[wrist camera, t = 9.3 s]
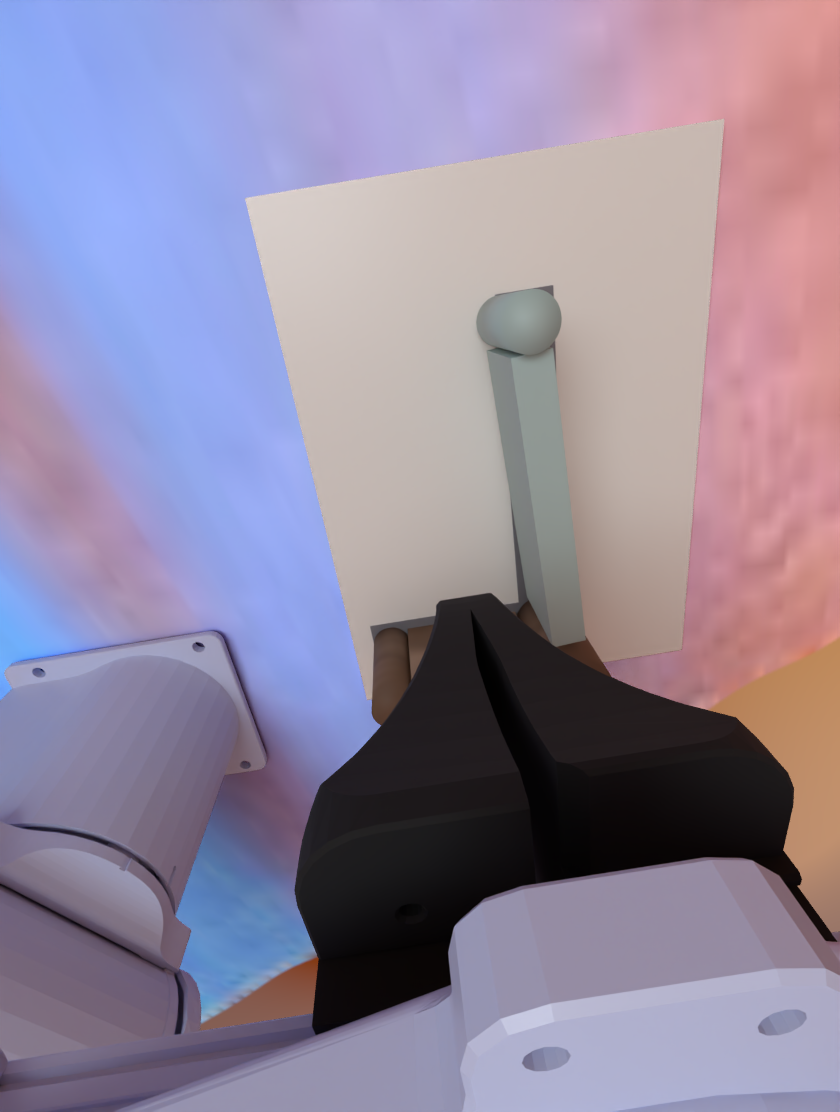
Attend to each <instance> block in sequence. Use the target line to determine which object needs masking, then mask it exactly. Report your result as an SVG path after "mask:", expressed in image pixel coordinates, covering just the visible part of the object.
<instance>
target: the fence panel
mask: <svg viewBox="0 0 840 1112" xmlns="http://www.w3.org/2000/svg"><path fill="white" fill-rule="evenodd" d="M561 321H562V317H561V310H560V307H559V305H558V303H557V301H556V300H555V298H554V297H553V296H552V295H551V294H549V293H548V292H546V291H544V290H540V289H529V290H523V291H518V292H513V293H508V294H502V295H497V296H494V297H491V298H490V299H488V300H487V301H486V302H485V303H484V304H483V305H482V306H481V308H480V310H479V312H478V315H477V320H476V325H477V330H478V333H479V335H480V337H481V338H482V340H483V341H484V342H486V343H487V344H489V345H491V346H494V347H498V348H495V349H491V350H487V356H488V362H489V368H490V375H491V381H492V387H493V393H494V399H495V405H496V411H497V417H498V423H499V430H500V436H501V442H502V448H503V454H504V460H505V466H506V472H507V478H508V484H509V491H510V497H511V503H512V509H513V515H514V521H515V527H516V533H517V539H518V546H519V552H520V558H521V564H522V570H523V576H524V582H525V588H526V594H527V598H528V599H529V601H530V603H531V605H532V607H533V609H534V611H535V613H536V615H537V617H538V619H539V621H540V623H541V625H542V627H543V629H544V631H545V633H546V635H547V637H548V639H549V641H550V643H551V644H553V645H554V646H555V647H558V646H562V645H566V644H571V643H575V642H580V641H584V640H586V637H585V628H584V619H583V610H582V601H581V592H580V583H579V574H578V566H577V557H576V548H575V539H574V530H573V521H572V512H571V503H570V494H569V485H568V476H567V467H566V458H565V450H564V441H563V432H562V423H561V414H560V405H559V396H558V387H557V378H556V369H555V360H554V351H553V348H550V346H551V345H552V344H553V342H554V341H555V339H556V338H557V336H558V334H559V331H560V328H561Z"/></svg>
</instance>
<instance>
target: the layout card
mask: <svg viewBox="0 0 840 1112" xmlns="http://www.w3.org/2000/svg"><path fill="white" fill-rule="evenodd" d="M723 129H724V119H720V120H714V121H708V122H702V123H696V124H690V125H684V126H678V127H672V128H666V129H660V130H654V131H648V132H642V133H636V134H630V135H624V136H617V137H611V138H605V139H599V140H593V141H587V142H581V143H575V144H569V145H563V146H557V147H551V148H545V149H539V150H533V151H527V152H521V153H515V154H509V155H503V156H497V157H491V158H484V159H478V160H472V161H466V162H460V163H454V164H448V165H442V166H436V167H430V168H424V169H418V170H412V171H406V172H400V173H394V174H388V175H382V176H376V177H370V178H364V179H358V180H351V181H345V182H339V183H333V184H327V185H321V186H315V187H309V188H303V189H297V190H291V191H285V192H279V193H273V194H267V195H261V196H255V197H249V198H245V200H246V204H247V208H248V212H249V217H250V221H251V225H252V229H253V233H254V237H255V241H256V245H257V249H258V254H259V258H260V262H261V266H262V270H263V274H264V278H265V282H266V286H267V291H268V295H269V299H270V303H271V307H272V311H273V315H274V319H275V323H276V328H277V332H278V336H279V340H280V344H281V348H282V352H283V356H284V360H285V365H286V369H287V373H288V377H289V381H290V385H291V389H292V393H293V397H294V401H295V406H296V410H297V414H298V418H299V422H300V426H301V430H302V434H303V438H304V443H305V447H306V451H307V455H308V459H309V463H310V467H311V471H312V475H313V480H314V484H315V488H316V492H317V496H318V500H319V504H320V508H321V512H322V517H323V521H324V525H325V529H326V533H327V537H328V541H329V545H330V549H331V554H332V558H333V562H334V566H335V570H336V574H337V578H338V582H339V586H340V591H341V595H342V599H343V603H344V607H345V611H346V615H347V619H348V623H349V627H350V632H351V636H352V640H353V644H354V648H355V652H356V656H357V660H358V664H359V669H360V673H361V677H362V681H363V685H364V689H365V693H366V697H367V700H371V699H372V688H373V658H374V639H375V637H376V635H377V634H378V633H379V632H380V631H381V630H383V629H386V628H391V627H394V628H399V629H401V630H403V631H404V632H406V634H407V635H408V628H415V627H421V626H427V625H433V624H434V621H435V616H436V605H437V604H438V603H439V601H441V600H447V599H454V598H460V597H466V596H472V595H479V594H485V593H492V594H493V595H494V596H496V597H497V598H498V599H499V600H500V601H501V602H502V603H503V604H504V605H505V606H506V607H507V608H508V609H509V610H510V611H511V612H515V613H516V615H517V613H518V611H519V609H520V608H521V607H522V605H523V604H524V603H526V602H527V601H528V600H529V599H528V598H527V594H526V588H525V582H524V576H523V570H522V564H521V558H520V552H519V546H518V539H517V533H516V527H515V521H514V515H513V509H512V503H511V497H510V491H509V484H508V478H507V472H506V466H505V460H504V454H503V448H502V442H501V436H500V430H499V423H498V417H497V411H496V405H495V399H494V393H493V387H492V381H491V375H490V368H489V362H488V356H487V350H491V349H495V348H498V347H494V346H491V345H489V344H487V343H486V342H484V341H483V340H482V338H481V337H480V335H479V333H478V330H477V325H476V320H477V315H478V312H479V310H480V308H481V306H482V305H483V304H484V303H485V302H486V301H487V300H488V299H490V298H491V297H494V296H497V295H502V294H508V293H513V292H518V291H523V290H529V289H540V290H544V291H546V292H548V293H549V294H551V295H552V296H553V297H554V298H555V300H556V301H557V303H558V305H559V307H560V310H561V317H562V321H561V328H560V331H559V334H558V336H557V338H556V339H555V341H554V342H553V344H552V345H551V346H550V348H553V351H554V360H555V369H556V378H557V387H558V396H559V405H560V414H561V423H562V432H563V441H564V450H565V458H566V467H567V476H568V485H569V494H570V503H571V512H572V521H573V530H574V539H575V548H576V557H577V566H578V574H579V583H580V592H581V601H582V610H583V619H584V628H585V636H586V637H587V639H588V640H589V642H590V643H591V645H592V647H593V648H594V650H595V651H596V653H597V655H598V656H599V658H600V659H601V661H602V663H603V662H609V661H615V660H622V659H628V658H634V657H641V656H647V655H653V654H659V653H666V652H672V651H678V650H682V641H683V628H684V616H685V603H686V591H687V578H688V566H689V553H690V541H691V528H692V516H693V503H694V491H695V479H696V466H697V454H698V441H699V429H700V416H701V404H702V391H703V379H704V366H705V354H706V341H707V329H708V316H709V304H710V291H711V279H712V267H713V254H714V242H715V229H716V217H717V204H718V192H719V179H720V167H721V154H722V142H723Z"/></svg>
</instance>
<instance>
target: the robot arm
mask: <svg viewBox="0 0 840 1112" xmlns="http://www.w3.org/2000/svg"><path fill="white" fill-rule="evenodd" d="M195 642H200V643H202V644H203V645H204V646H205V647H200V646H198V645H197V644H196V643H195ZM39 668H41V669H43V670H44V671H45V672H43V671H41V670H40V669H39ZM4 674H5V677H6V679H7V681H8V682H9V684H10V686H11V687H12V689H11V690H10V691H9V692H8V693H7V694H6V695H5V696H4V697H3V698H2V699H1V700H0V1112H840V931H839V932H833V933H831V932H830V931H829V929H828V928H827V927H826V925H825V924H824V922H823V921H822V919H821V918H820V917H819V915H818V914H817V913H816V911H815V910H814V909H813V907H812V906H811V904H810V903H809V901H808V900H807V899H806V897H805V896H804V895H803V893H802V892H801V890H800V889H799V888H798V887H797V886H798V885H800V884H801V880H802V879H801V876H800V873H799V871H798V869H797V868H796V867H795V866H794V864H793V863H792V862H791V860H790V859H789V857H788V856H787V855H786V854H785V852H784V851H783V848H784V844H785V839H786V835H787V830H788V826H789V822H790V817H791V812H792V808H793V799H794V787H793V784H792V782H791V779H790V777H789V775H788V772H787V771H786V770H785V769H784V768H783V767H782V766H781V764H780V763H779V762H778V761H777V760H776V759H775V758H774V757H773V755H772V754H771V753H770V752H769V751H768V749H767V748H766V747H765V746H764V745H763V744H762V743H761V742H760V741H759V739H757V737H756V736H755V735H754V734H753V733H751V732H750V731H749V730H748V729H747V728H746V727H745V726H744V725H743V724H742V723H741V722H740V721H739V720H738V719H737V718H736V717H732V716H728V715H724V714H720V713H716V712H713V711H709V710H705V709H701V708H697V707H693V706H689V705H685V704H682V703H678V702H675V701H672V700H669V699H666V698H663V697H660V696H657V695H654V694H651V693H648V692H646V691H643V690H641V689H638V688H635V687H633V686H630V685H628V684H626V683H623V682H621V681H619V680H616V679H614V678H612V677H610V676H607V675H605V674H603V673H601V672H599V671H597V670H595V669H593V668H591V667H589V666H587V665H586V664H584V663H582V662H580V661H578V660H577V659H575V658H573V657H571V656H569V655H568V654H566V653H565V652H563V651H561V650H560V649H558V648H557V647H555V646H554V645H553V644H551V643H550V642H548V641H547V640H546V639H544V638H543V637H541V636H540V635H539V634H538V633H536V632H535V631H534V630H533V629H531V628H530V627H529V626H528V625H526V624H525V623H524V622H523V621H522V620H520V619H519V618H518V617H517V616H516V615H515V614H514V613H512V612H511V611H510V610H509V609H508V608H507V607H506V606H505V605H504V604H503V603H502V602H501V601H500V600H499V599H498V598H497V597H496V596H494V595H493V594H492V593H485V594H479V595H472V596H466V597H460V598H454V599H447V600H441V601H439V603H438V604H437V605H436V616H435V621H434V625H433V629H432V632H431V635H430V638H429V641H428V644H427V647H426V650H425V652H424V654H423V657H422V659H421V661H420V663H419V666H418V668H417V670H416V672H415V674H414V676H413V678H412V680H411V682H410V684H409V685H408V687H407V689H406V691H405V692H404V694H403V696H402V697H401V699H400V700H399V702H398V703H397V705H396V706H395V708H394V709H393V710H392V712H391V713H390V715H389V716H388V718H387V719H386V720H385V721H384V723H383V724H382V725H381V727H380V728H379V729H378V730H377V731H376V732H375V734H374V735H373V736H372V737H371V738H370V739H369V740H368V741H367V743H366V744H365V745H364V746H363V747H362V748H361V749H360V750H359V751H358V752H357V753H356V754H355V755H354V756H353V757H352V758H351V759H350V760H349V761H348V762H346V763H345V764H344V765H343V766H342V767H341V768H340V769H338V770H337V771H336V772H335V773H334V774H333V775H332V776H330V777H329V778H328V779H327V780H326V781H324V782H323V783H322V784H321V785H320V787H319V789H318V792H317V795H316V797H315V800H314V803H313V806H312V809H311V812H310V815H309V819H308V822H307V825H306V828H305V832H304V836H303V840H302V845H301V850H300V856H299V863H298V870H297V877H296V883H295V895H296V901H297V906H298V909H299V911H300V914H301V916H302V919H303V921H304V924H305V926H306V929H307V931H308V934H309V936H310V939H311V941H312V944H313V946H314V948H315V951H316V953H317V956H318V958H319V961H318V971H317V980H316V990H315V1001H314V1010H313V1014H307V1015H300V1016H294V1017H287V1018H281V1019H274V1020H268V1021H262V1022H255V1023H249V1024H242V1025H236V1026H229V1027H223V1028H216V1029H210V1030H203V1031H200V1024H201V1002H200V993H199V990H198V987H197V984H196V982H195V981H194V979H193V978H192V976H191V975H190V974H189V973H187V972H185V971H184V970H181V969H179V968H180V965H181V962H182V959H183V955H184V952H185V949H186V946H187V943H188V940H189V936H190V933H191V930H190V928H188V927H187V926H185V925H184V924H182V923H181V922H180V921H179V920H178V919H177V918H176V916H175V915H176V913H177V910H178V907H179V904H180V901H181V898H182V895H183V893H184V890H185V887H186V884H187V881H188V878H189V875H190V872H191V870H192V867H193V864H194V861H195V858H196V855H197V852H198V850H199V847H200V844H201V841H202V838H203V835H204V832H205V830H206V827H207V824H208V821H209V818H210V815H211V812H212V810H213V807H214V804H215V801H216V798H217V795H218V792H219V789H220V787H221V784H222V781H223V778H224V775H230V774H236V773H242V772H249V771H255V770H260V769H262V768H264V767H265V765H266V762H267V755H266V752H265V750H264V747H263V744H262V742H261V739H260V736H259V733H258V731H257V728H256V725H255V723H254V720H253V717H252V715H251V712H250V709H249V706H248V704H247V701H246V698H245V696H244V693H243V690H242V687H241V685H240V682H239V679H238V677H237V674H236V671H235V669H234V666H233V663H232V660H231V658H230V655H229V652H228V650H227V647H226V644H225V641H224V639H223V637H222V636H221V635H220V634H219V633H217V632H214V631H207V632H201V633H195V634H188V635H182V636H176V637H170V638H164V639H157V640H151V641H145V642H139V643H132V644H126V645H120V646H114V647H107V648H101V649H95V650H89V651H82V652H76V653H70V654H64V655H58V656H51V657H45V658H39V659H33V660H26V661H20V662H15V663H12V664H11V665H10V666H9V667H8V668H7V669H6V670H5V673H4ZM244 761H248V762H249V763H246V762H244Z"/></svg>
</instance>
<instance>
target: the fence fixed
mask: <svg viewBox="0 0 840 1112" xmlns="http://www.w3.org/2000/svg"><path fill="white" fill-rule="evenodd" d="M512 613H514V614H515V615H516V613H515V612H512ZM516 616H517V617H518V618H519V619H520V620H522V621H523V622H524V623H525V624H526V625H528V626H529V627H530V628H531V629H533V630H534V631H535V632H536V633H538V634H539V635H540V636H541V637H543V638H544V639H546V640H547V641H548V642H550V641H549V639H548V637H547V635H546V633H545V631H544V629H543V627H542V625H541V623H540V621H539V619H538V617H537V615H536V613H535V611H534V609H533V607H532V605H531V603H530V601H529V600H528V601H527V602H526V603H524V604H523V605H522V607H521V608H520V609H519V611H518V613H517V615H516ZM433 625H434V624H433ZM433 625H427V626H421V627H415V628H408V635H407V634H406V632H404V631H403V630H401V629H399V628H394V627H391V628H386V629H383V630H381V631H380V632H379V633H378V634H377V635H376V637H375V639H374V658H373V688H372V716H373V718H374V719H375V721H376V722H377V723H379V724H380V725H382V724H383V723H384V721H385V720H386V719H387V718H388V716H389V715H390V713H391V712H392V710H393V709H394V708H395V706H396V705H397V703H398V702H399V700H400V699H401V697H402V696H403V694H404V692H405V691H406V689H407V687H408V685H409V684H410V682H411V680H412V678H413V676H414V674H415V672H416V670H417V668H418V666H419V663H420V661H421V659H422V657H423V654H424V652H425V650H426V647H427V644H428V641H429V638H430V635H431V632H432V629H433ZM585 637H586V636H585ZM557 648H558V649H560V650H561V651H563V652H565V653H566V654H568V655H569V656H571V657H573V658H575V659H577V660H578V661H580V662H582V663H584V664H586V665H587V666H589V667H591V668H593V669H595V670H597V671H599V672H601V673H603V674H605V675H607V676H610V677H611V675H610V674H609V672H608V670H607V669H606V667H605V666H604V664H603V663H602V661H601V659H600V658H599V656H598V655H597V653H596V651H595V650H594V648H593V647H592V645H591V643H590V642H589V640H588V639H587V637H586V640H584V641H580V642H575V643H571V644H566V645H562V646H558V647H557Z"/></svg>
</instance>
